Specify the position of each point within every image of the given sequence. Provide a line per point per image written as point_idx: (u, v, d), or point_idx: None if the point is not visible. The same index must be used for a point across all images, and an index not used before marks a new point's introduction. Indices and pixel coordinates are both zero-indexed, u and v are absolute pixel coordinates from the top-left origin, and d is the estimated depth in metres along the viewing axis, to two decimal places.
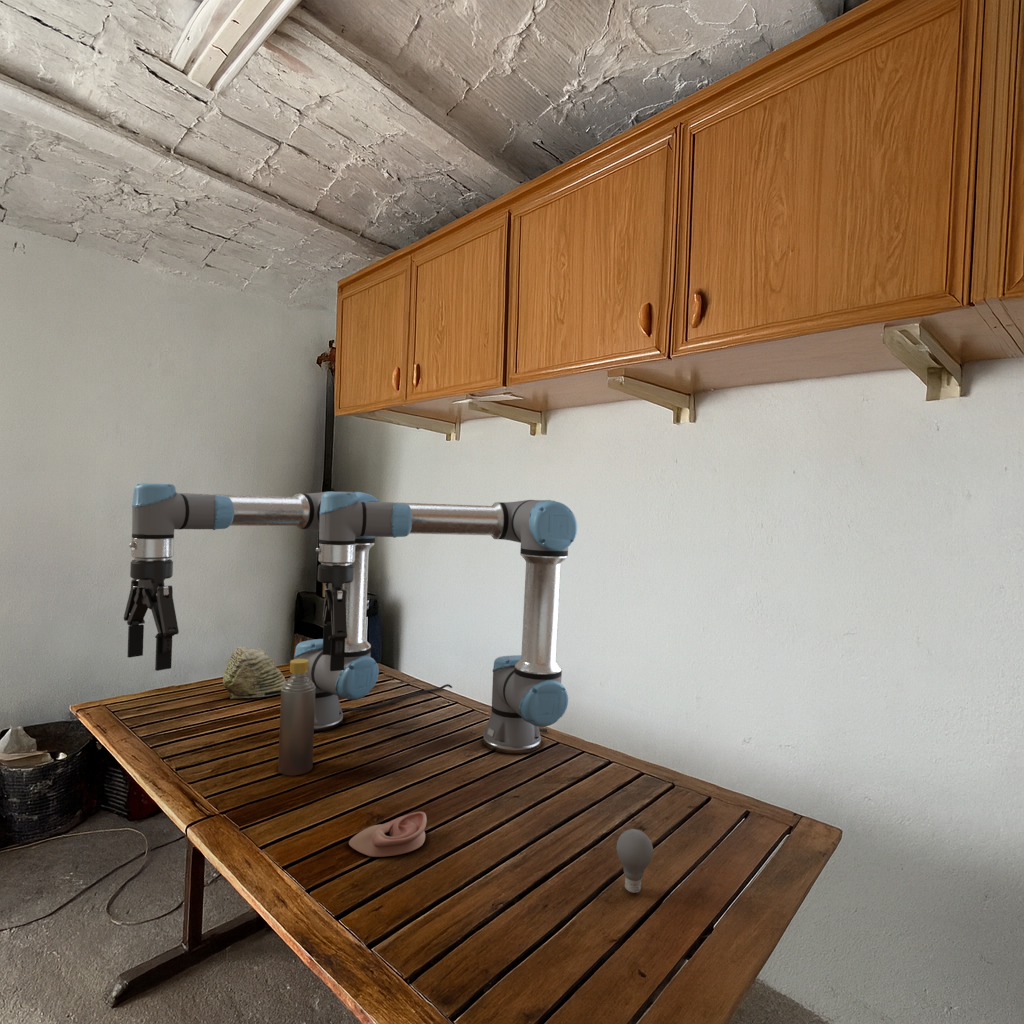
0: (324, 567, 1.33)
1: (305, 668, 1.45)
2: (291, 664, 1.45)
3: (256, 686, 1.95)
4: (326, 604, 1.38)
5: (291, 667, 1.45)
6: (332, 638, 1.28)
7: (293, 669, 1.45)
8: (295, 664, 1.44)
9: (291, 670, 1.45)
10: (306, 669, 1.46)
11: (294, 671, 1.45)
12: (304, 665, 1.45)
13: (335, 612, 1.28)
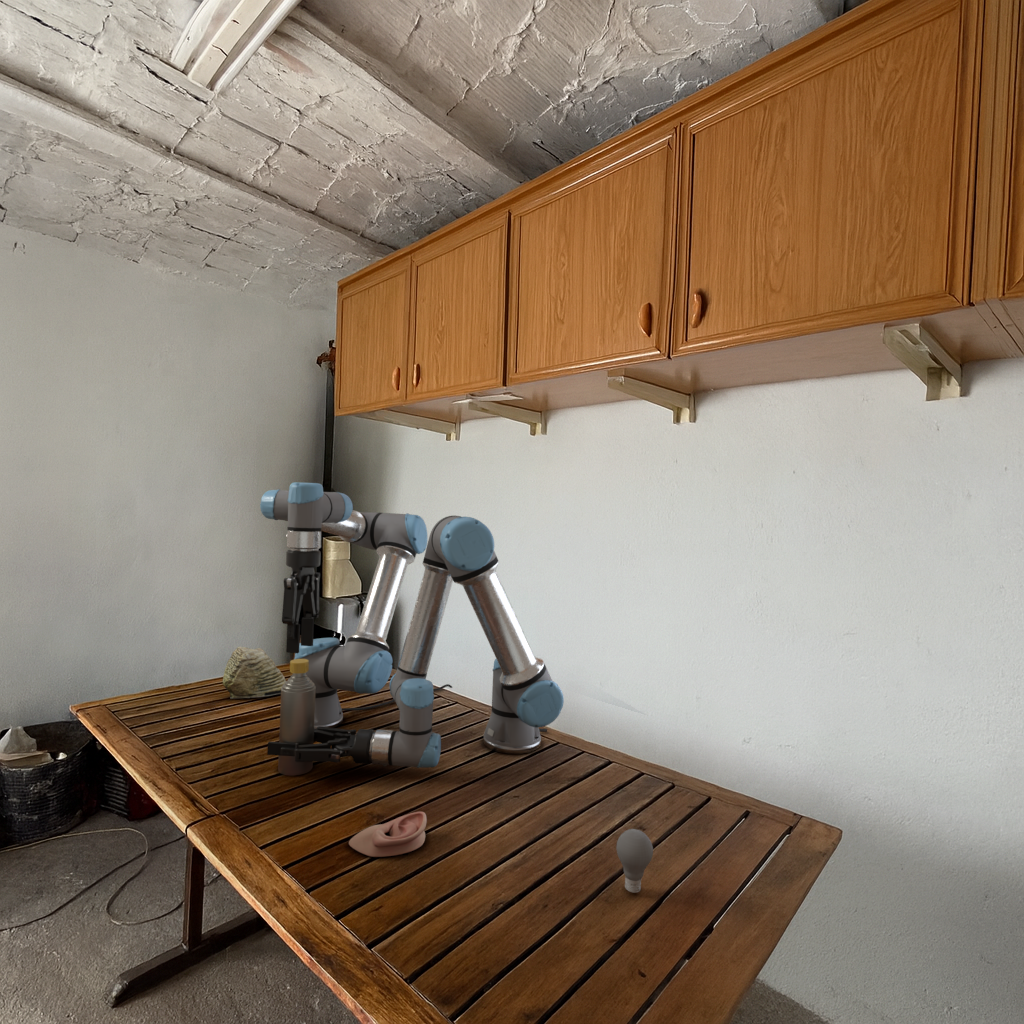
0: None
1: (305, 668, 1.45)
2: (291, 664, 1.45)
3: (256, 686, 1.95)
4: None
5: (291, 667, 1.45)
6: None
7: (293, 669, 1.45)
8: (295, 664, 1.44)
9: (291, 670, 1.45)
10: (306, 669, 1.46)
11: (294, 671, 1.45)
12: (304, 665, 1.45)
13: None
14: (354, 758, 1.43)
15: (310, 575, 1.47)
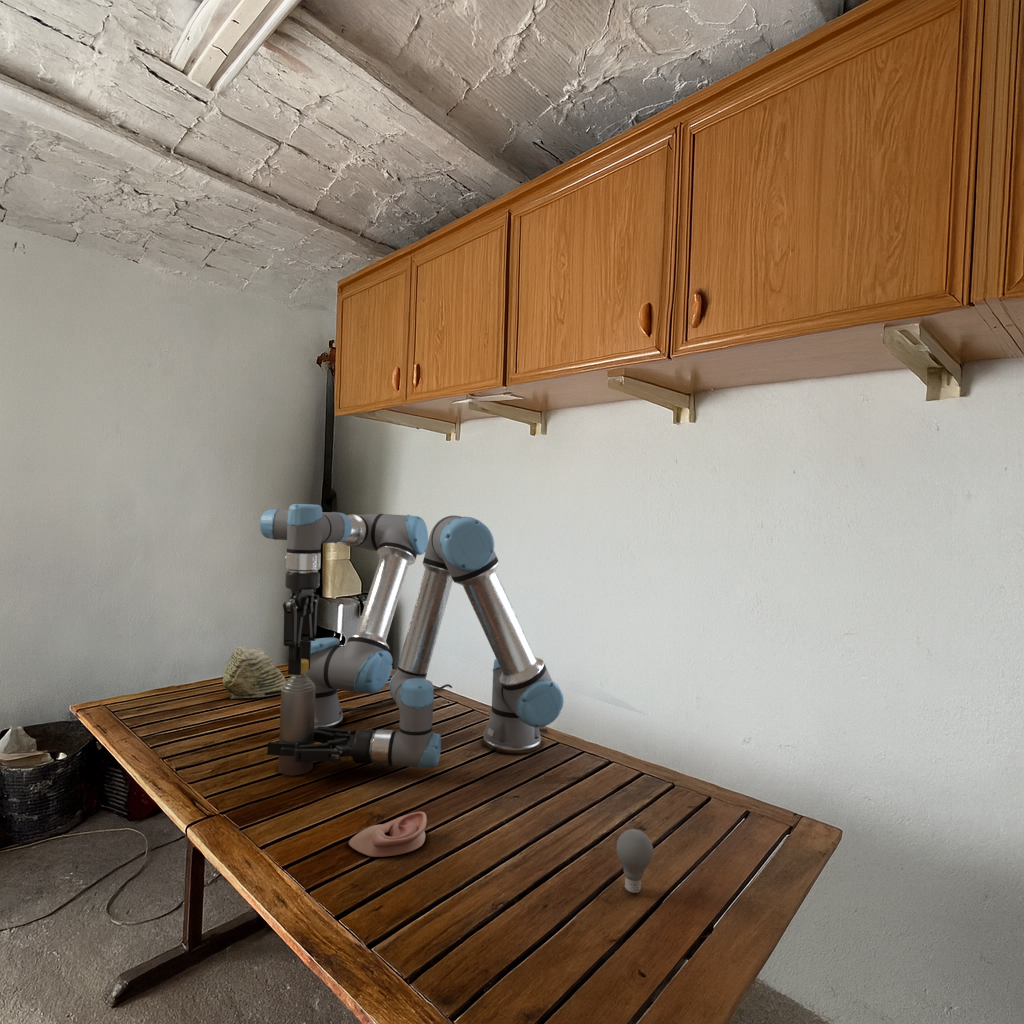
0: None
1: (305, 668, 1.45)
2: None
3: (256, 686, 1.95)
4: None
5: None
6: None
7: None
8: None
9: None
10: (306, 669, 1.46)
11: None
12: (305, 665, 1.45)
13: None
14: (354, 758, 1.43)
15: (309, 596, 1.47)
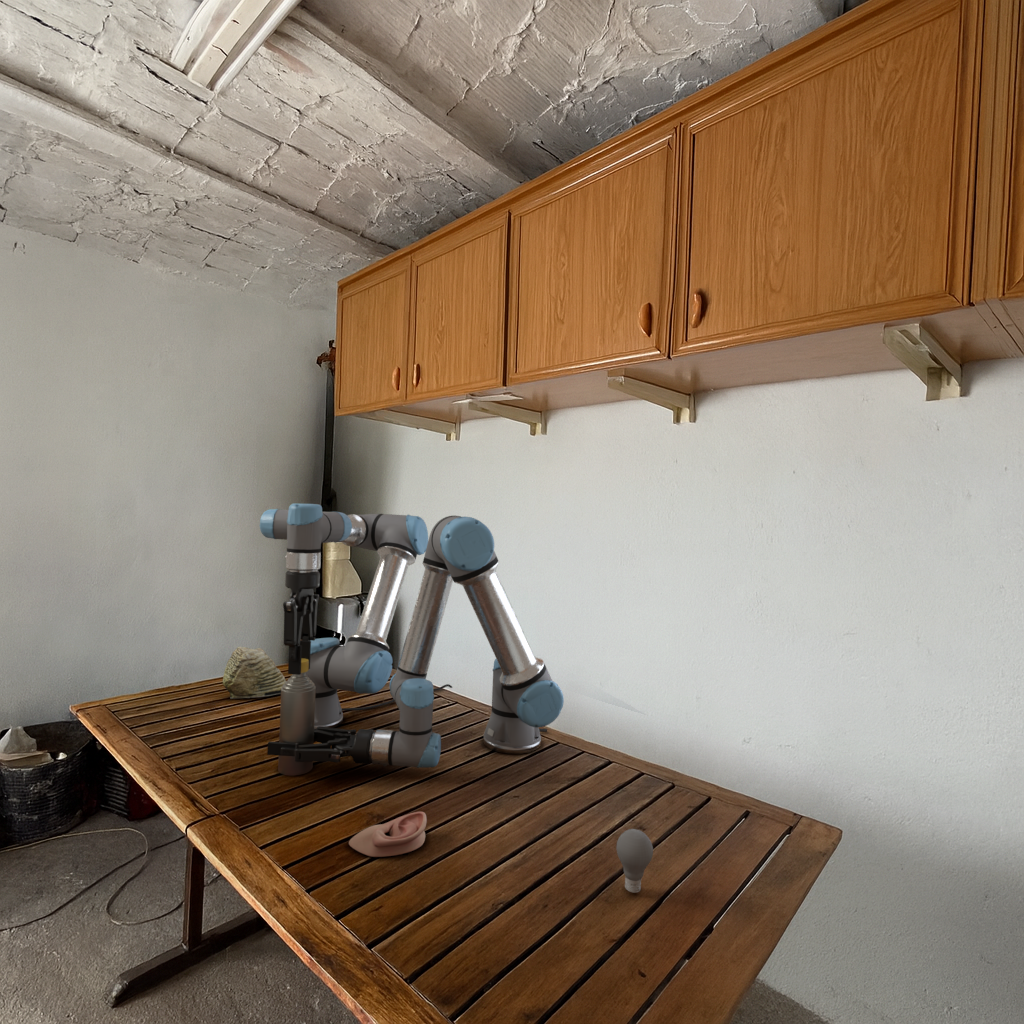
0: None
1: None
2: (306, 663, 1.46)
3: (256, 686, 1.95)
4: None
5: (306, 666, 1.46)
6: None
7: (308, 667, 1.46)
8: (308, 661, 1.47)
9: (306, 669, 1.46)
10: None
11: (308, 669, 1.47)
12: None
13: None
14: (354, 758, 1.43)
15: (309, 596, 1.47)
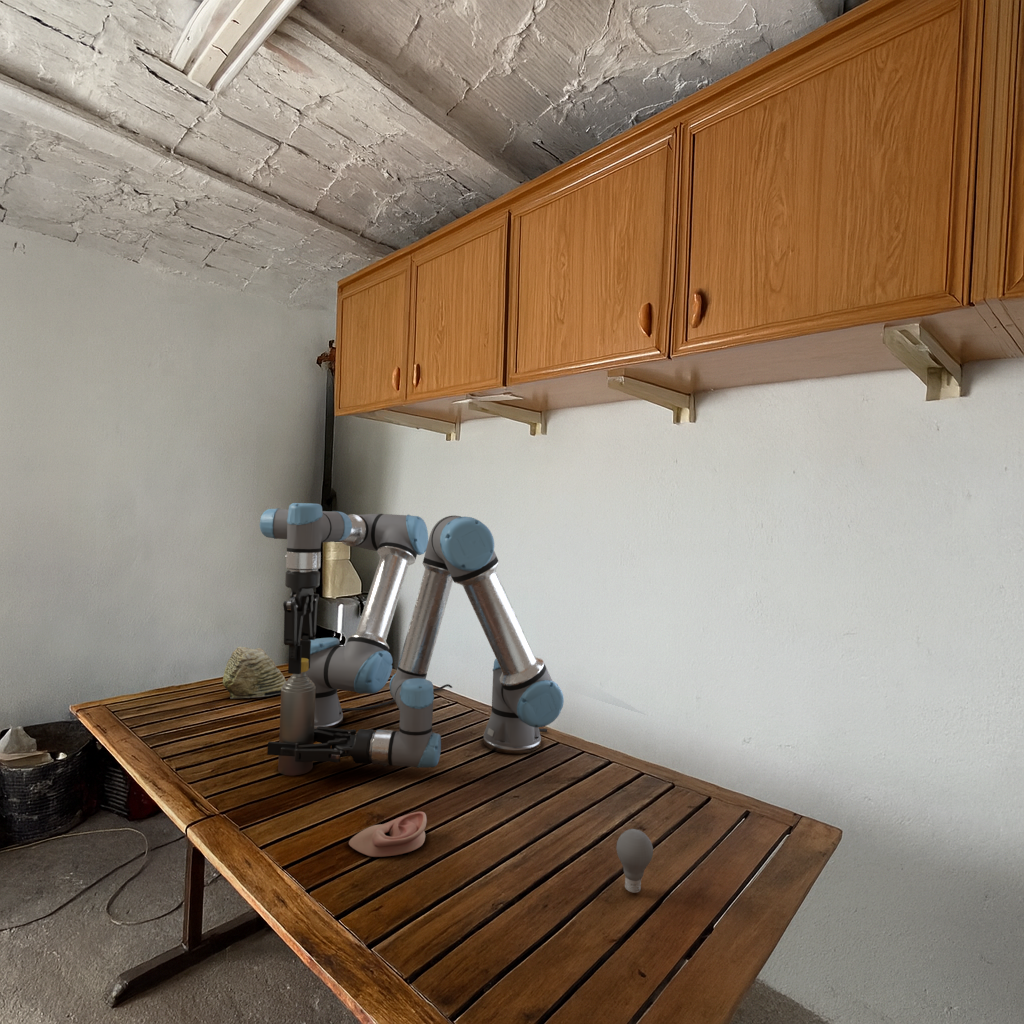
0: None
1: None
2: None
3: (256, 686, 1.95)
4: None
5: None
6: None
7: None
8: None
9: None
10: None
11: None
12: None
13: None
14: (354, 758, 1.43)
15: (309, 595, 1.47)
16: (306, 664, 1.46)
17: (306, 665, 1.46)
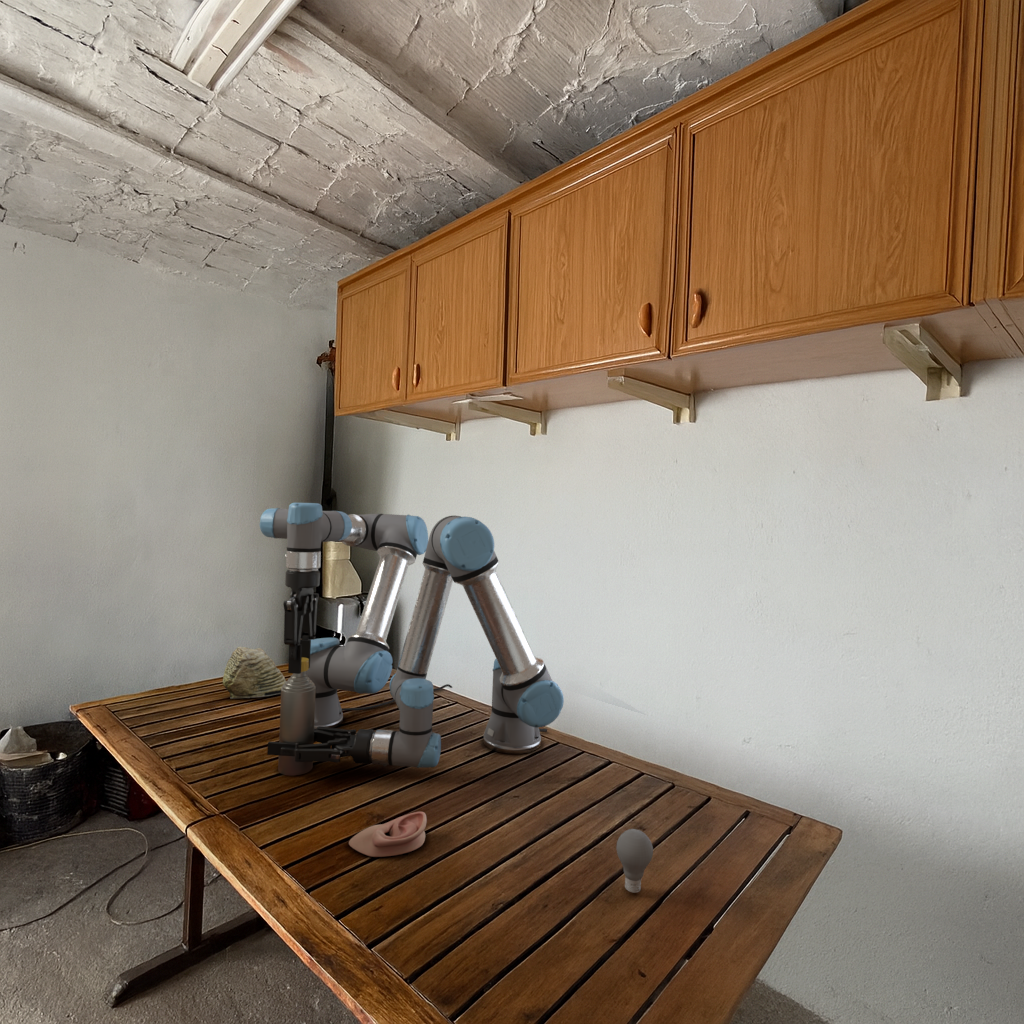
0: None
1: None
2: None
3: (256, 686, 1.95)
4: None
5: None
6: None
7: None
8: None
9: None
10: (302, 669, 1.45)
11: None
12: None
13: None
14: (354, 758, 1.43)
15: (309, 595, 1.47)
16: None
17: None
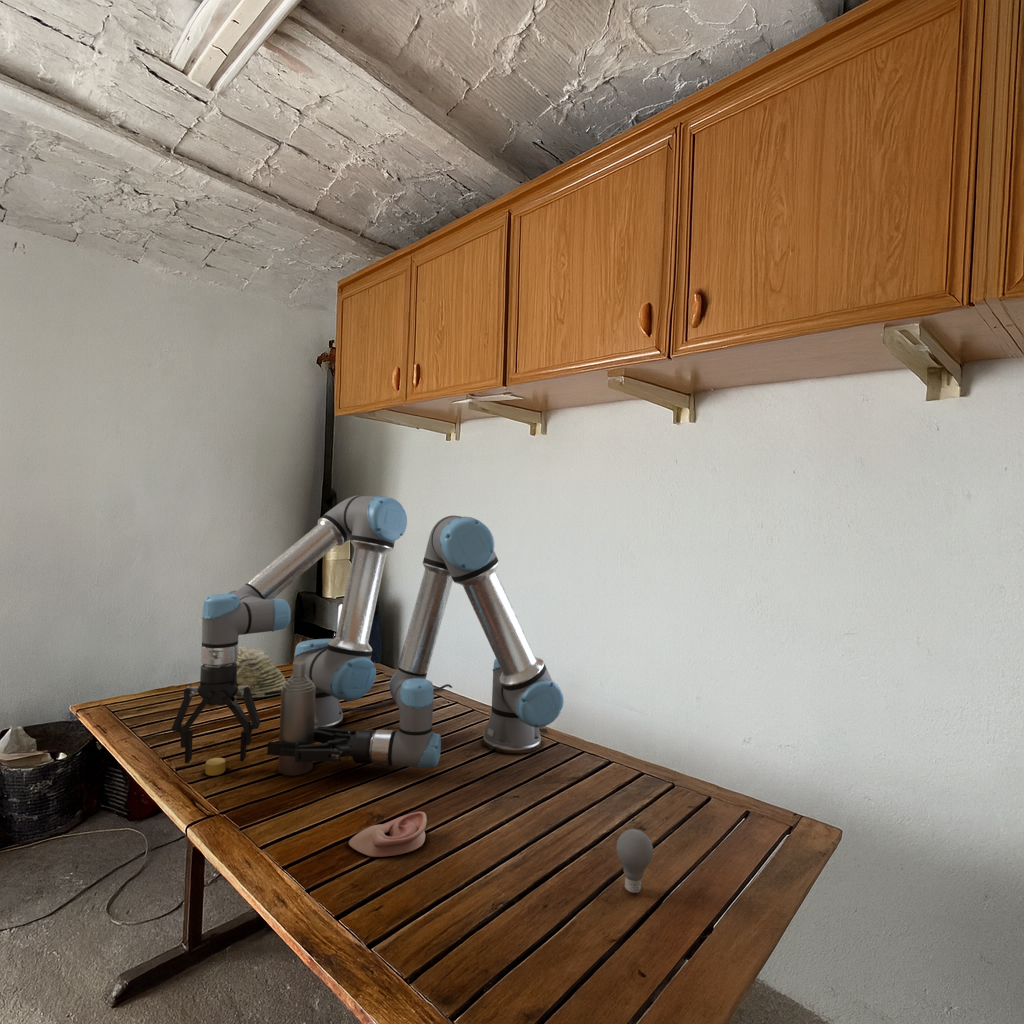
0: None
1: None
2: (216, 766, 1.42)
3: (256, 686, 1.95)
4: None
5: (216, 769, 1.42)
6: None
7: (220, 770, 1.42)
8: (222, 764, 1.43)
9: (216, 772, 1.42)
10: None
11: (220, 772, 1.42)
12: (224, 762, 1.45)
13: None
14: (354, 758, 1.43)
15: None
16: None
17: None
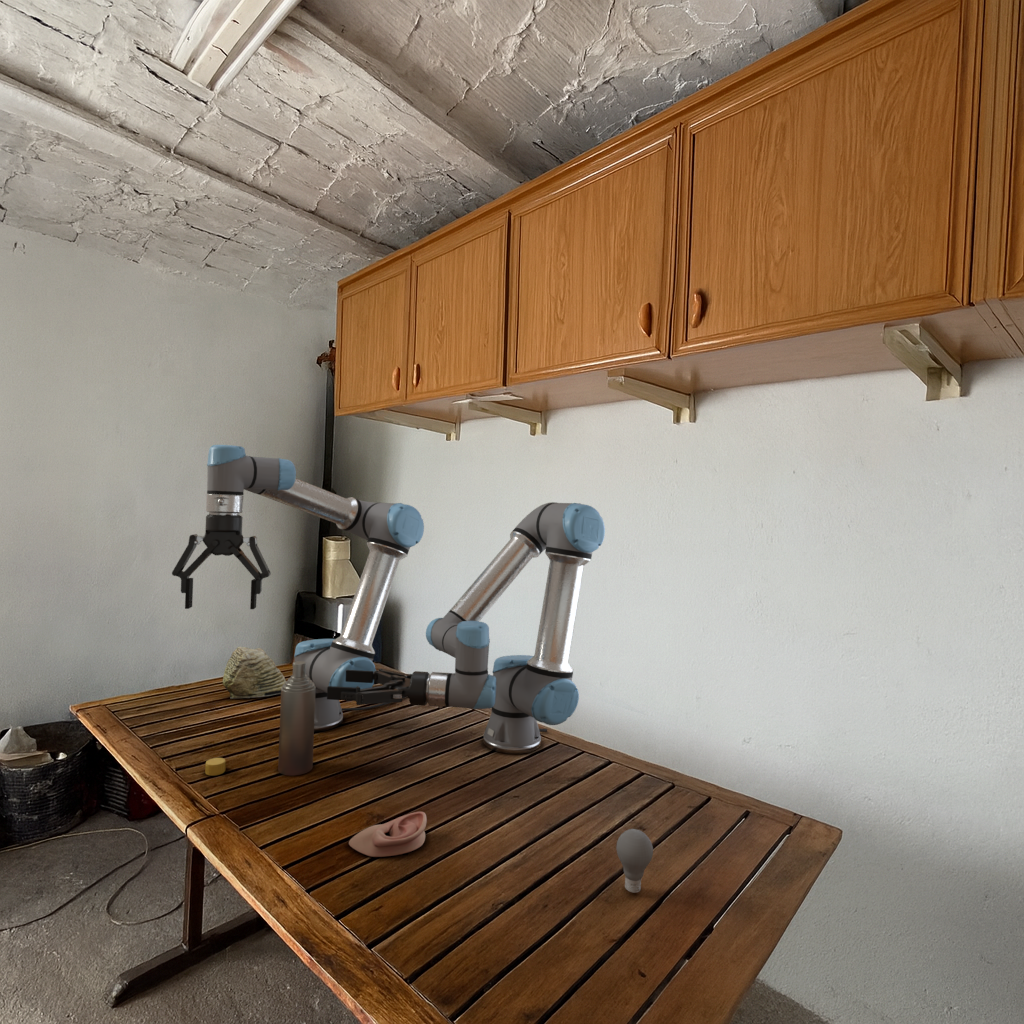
0: None
1: None
2: (216, 766, 1.42)
3: (256, 686, 1.95)
4: None
5: (216, 769, 1.42)
6: None
7: (220, 770, 1.42)
8: (222, 764, 1.43)
9: (216, 772, 1.42)
10: None
11: (220, 772, 1.42)
12: (224, 762, 1.45)
13: None
14: (411, 699, 1.42)
15: None
16: None
17: None
